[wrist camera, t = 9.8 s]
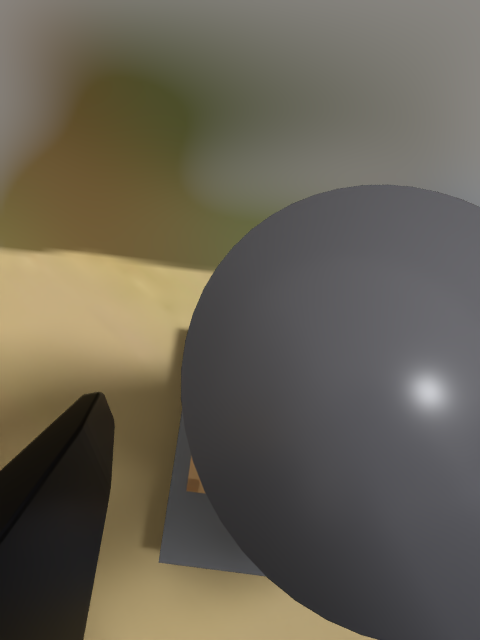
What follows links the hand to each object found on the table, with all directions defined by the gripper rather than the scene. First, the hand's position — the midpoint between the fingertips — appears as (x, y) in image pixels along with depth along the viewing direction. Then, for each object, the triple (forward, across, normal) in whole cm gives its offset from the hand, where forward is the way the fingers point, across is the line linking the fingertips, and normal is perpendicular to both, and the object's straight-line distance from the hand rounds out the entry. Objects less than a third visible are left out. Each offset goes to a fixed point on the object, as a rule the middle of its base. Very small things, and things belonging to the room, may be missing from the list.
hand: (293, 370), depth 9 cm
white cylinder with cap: (+6, 0, +7) cm, 9 cm away
